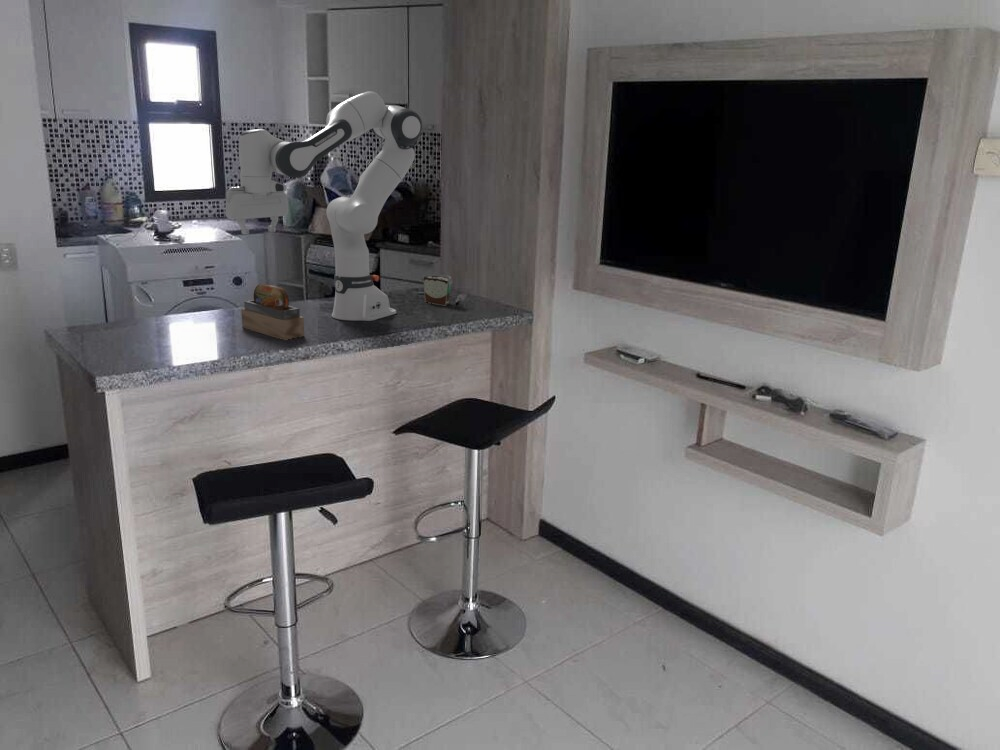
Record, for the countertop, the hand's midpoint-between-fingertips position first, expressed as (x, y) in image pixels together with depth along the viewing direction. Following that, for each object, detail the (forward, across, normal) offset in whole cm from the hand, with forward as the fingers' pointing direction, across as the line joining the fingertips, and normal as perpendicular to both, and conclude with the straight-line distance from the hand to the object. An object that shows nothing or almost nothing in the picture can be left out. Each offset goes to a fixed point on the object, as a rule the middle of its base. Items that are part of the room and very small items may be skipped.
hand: (258, 232), depth 243 cm
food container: (+30, +69, -11) cm, 76 cm away
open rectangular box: (+30, -1, -6) cm, 30 cm away
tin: (+24, -1, -5) cm, 24 cm away
